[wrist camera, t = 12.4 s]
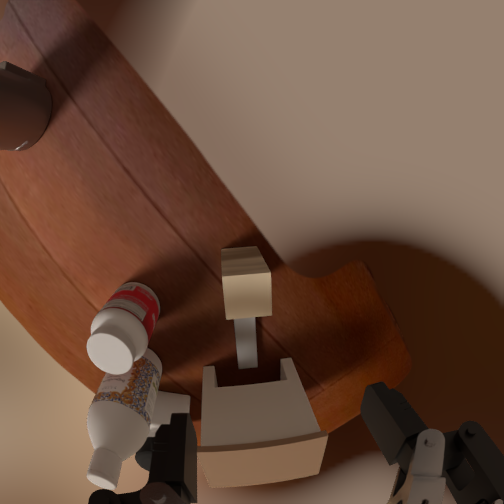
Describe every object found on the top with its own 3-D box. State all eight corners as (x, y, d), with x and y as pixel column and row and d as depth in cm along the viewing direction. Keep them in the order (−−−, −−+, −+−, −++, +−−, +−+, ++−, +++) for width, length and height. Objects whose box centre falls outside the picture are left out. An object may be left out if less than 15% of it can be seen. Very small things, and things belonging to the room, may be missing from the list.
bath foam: (152, 338, 33) (113, 467, 14) (169, 378, 35) (150, 501, 16) (108, 344, 33) (51, 457, 14) (127, 382, 35) (92, 493, 16)
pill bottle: (146, 334, 33) (124, 390, 23) (107, 306, 32) (71, 355, 21) (170, 299, 32) (152, 353, 22) (128, 270, 31) (92, 312, 20)
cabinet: (199, 364, 35) (195, 452, 21) (294, 354, 36) (328, 435, 22) (209, 407, 37) (210, 487, 23) (292, 398, 39) (318, 473, 24)
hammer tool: (221, 248, 31) (221, 276, 23) (256, 246, 32) (270, 272, 23) (232, 364, 36) (237, 411, 27) (262, 361, 36) (273, 407, 27)
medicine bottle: (145, 416, 37) (133, 473, 26) (143, 386, 35) (126, 448, 24) (188, 423, 38) (185, 482, 27) (190, 394, 36) (186, 458, 25)
